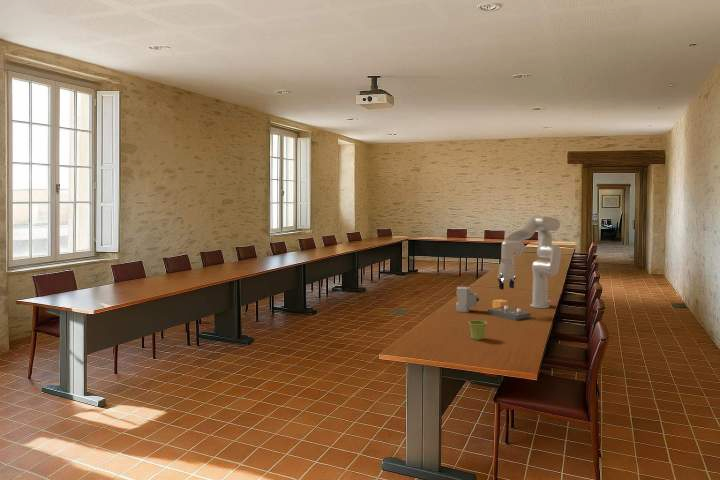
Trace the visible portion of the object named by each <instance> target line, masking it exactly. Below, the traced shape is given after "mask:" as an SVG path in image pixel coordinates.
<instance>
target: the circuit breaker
mask: <svg viewBox="0 0 720 480" xmlns="http://www.w3.org/2000/svg"><path fill="white" fill-rule="evenodd" d="M455 295H456V296H457V302H455V303H456V304H455V312H459V313H462V312H463V313H469V312H470V307H471V308H472V307H473V308H474V307H475V308H476V307H477V302H478V301H479V302H480V297H479V298H478V296H477V292H470V286H457V287H456V294H455Z"/></svg>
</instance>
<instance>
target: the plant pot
mask: <svg viewBox="0 0 720 480" xmlns="http://www.w3.org/2000/svg"><path fill="white" fill-rule="evenodd" d="M468 324H469V326H470V333H471V335H470V336H471V339H473V340H474V341H475V340H476V341H479V340H484V337H485V332H486V330H485V329H486V328H487V327H486V326H487V324H488V322H487V321H483V320H469V321H468Z"/></svg>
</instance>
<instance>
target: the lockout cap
mask: <svg viewBox="0 0 720 480" xmlns="http://www.w3.org/2000/svg"><path fill="white" fill-rule="evenodd" d="M491 304H492V307H491V308H497V307H504V306H508V307H509V301H508V300H505V299H501V298H500V299H493V300H492V303H491Z"/></svg>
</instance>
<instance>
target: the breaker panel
mask: <svg viewBox="0 0 720 480" xmlns="http://www.w3.org/2000/svg"><path fill="white" fill-rule="evenodd" d="M487 314H488V315H492V316H497V317H500V318H505V319H508V320H512V321H521V320H525V319H530V318H531V317H532V316H531V315H532V314H531V312H529V311H524V310H521V313H517V308H511V307H508V310H504V307H497V308H492V307H491V308H488V309H487Z"/></svg>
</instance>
